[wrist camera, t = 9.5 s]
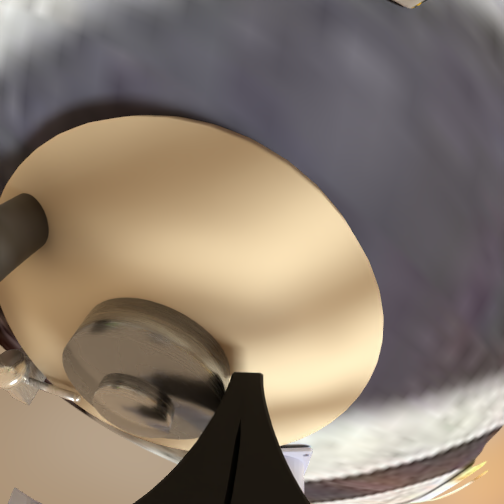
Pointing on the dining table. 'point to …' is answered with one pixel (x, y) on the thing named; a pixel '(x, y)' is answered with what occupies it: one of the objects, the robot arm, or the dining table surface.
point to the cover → (147, 368)
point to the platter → (192, 258)
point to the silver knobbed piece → (26, 378)
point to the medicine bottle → (410, 3)
